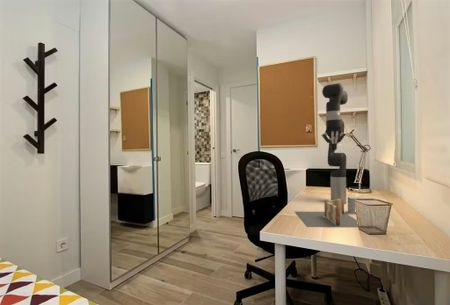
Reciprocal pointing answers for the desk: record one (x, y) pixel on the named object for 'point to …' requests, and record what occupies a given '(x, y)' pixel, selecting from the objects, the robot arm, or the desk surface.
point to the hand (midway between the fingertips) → (333, 150)
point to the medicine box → (352, 204)
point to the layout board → (325, 220)
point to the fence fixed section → (336, 204)
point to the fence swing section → (333, 213)
